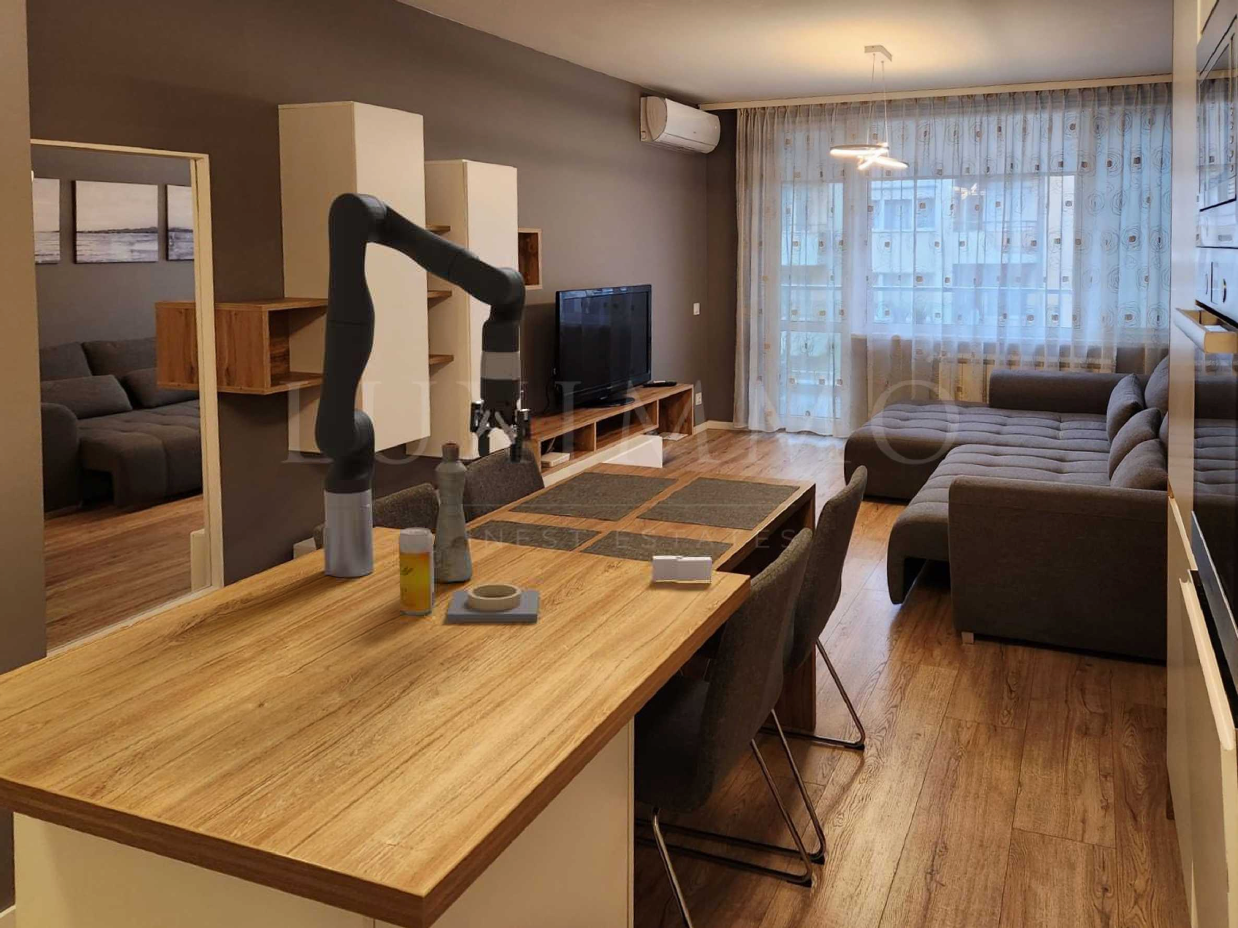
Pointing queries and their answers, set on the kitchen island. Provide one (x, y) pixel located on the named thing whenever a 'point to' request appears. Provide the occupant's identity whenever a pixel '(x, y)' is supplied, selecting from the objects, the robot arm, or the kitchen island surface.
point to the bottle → (451, 520)
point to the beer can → (416, 571)
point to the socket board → (494, 604)
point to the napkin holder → (681, 568)
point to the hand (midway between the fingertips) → (499, 459)
